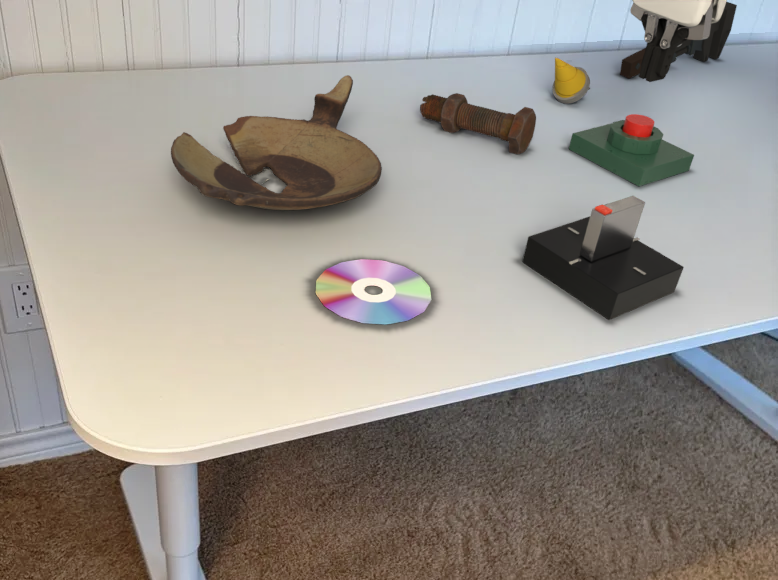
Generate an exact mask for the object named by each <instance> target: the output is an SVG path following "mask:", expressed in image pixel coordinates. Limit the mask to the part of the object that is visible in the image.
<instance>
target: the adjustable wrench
mask: <svg viewBox="0 0 778 580" xmlns="http://www.w3.org/2000/svg"><path fill="white" fill-rule="evenodd" d="M737 8H738V5H737V4H735V3H733V2H730V1H726V4H725V7H724V10H723V13H722V16H721V18H720V19H719V21H718V22H715V23H711V28H710V35H709V37H708V38H707V39H703V40H687V41H685V42H683V43H682V45H681V46H678V47H676V49H675V52H674V56H673V59H672V62H671V64H673V63H675V62H676V61H677V59H678V57H680V56H682V55H686V56H689V57H692V58H693V59H696V60H698V61H700V62H703V63H706V62H707V61H709V58H711V59H714V60H719V58H720V56H721V54H722V52H723V49H724V48H725V45H726V43H727V41H728V39H729V36H730V34H731V32H732V28H733V24H734V20H735V15H736V12H737ZM645 49H646V47H644V48H642V49H640V50H638V51H636V52H634V53H632V54H630V55H628V56H626V57H624V58H623V59H621V65H620V71H619V75H620V76H621V77H624V78H626V79H628V80H631V79H632V78H634V77H636V76H639V73H640V70H641V63H642V60H643V56H644V53H645Z"/></svg>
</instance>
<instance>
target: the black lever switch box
mask: <svg viewBox="0 0 778 580" xmlns="http://www.w3.org/2000/svg"><path fill="white" fill-rule="evenodd" d="M590 216H591V215H589V216H587V217H583V218H580V219H578V220H575V221H572V222H568V223H565V224H562V225H559V226H555V227H553V228H550V229H547V230H544V231H541V232H539V233H535V234H533V235H529V236H528V237H527V241H526V245H525V248H524V254H523V258H522V263H523V264H525V265H526V266H528V267H529V268H531V269H532V270H534V271H535V272H537V273H538V274H540V275H541V276H542V277H544V278H546V279H547V280H549V281H550V282H551V283H553V284H554V285H556V286H558V287H559V288H560V289H562V290H563V291H565V292H566V293H568V294H570V295H571V296H573V297H574V298H576V300H578V301H580V302H581V303H583V304H584V305H586V306H588V307H589V308H590V309H592V310H593V311H594V312H596V313H598V314H599V315H601V316H602V317H604V318H605V319H607V320H608V321H610V320H613V319H615V318H618V317H620V316H622V315H625V314H627V313H629V312H631V311H634V310H636V309H638V308H641V307H643V306H645V305H648V304H650V303H652V302H654V301H657V300H659V299H661V298H664V297H666V296H669V295H671V294H674V293H675V291H676V289H677V286H678V283H679V281H680V278H681V277H682V273H683V271H684V268H685V267H684V266H683V265H682V264H680V263H678V262H676V261H674V260H673V259H671V258H669V257H667V256H666V255H664V254H663V253H661V252H659V251H657V250H656V249H653V247H650V246H649V245H648V244H645V243H643V242H642V241H640V240H641V238H639V237H638V236H636V237H634V239H633V242H632V245H631V247H630V248H627V249H625V250H622V251H619V252H616V253H614V254H611V255H608V256H606V257H603V258H600V259H598V260H595V261H592V262H591V261H589V260H587V259H586V258H584V257H583V256H581V255H580V251H581V247H582V244H583V240H584V237H585V233H586V230H587V226H588V223H589V219H590Z"/></svg>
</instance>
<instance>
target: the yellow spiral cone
mask: <svg viewBox="0 0 778 580" xmlns="http://www.w3.org/2000/svg"><path fill="white" fill-rule="evenodd" d="M590 85H591V79H590V75H589V74H588V72H587V71H586V69H584V68H583V67H580V66H573V65H572V64H570V63H568V62H566V61H564V60H563V59H560V58H558V57H554V81H553V84H552V89H551V91H552V94H553V96H554V98H555V99H556V100H557V101H558V102H559V103H561V104H564V105H565V104H566V105H568V104H573V103H577V102H578V101H580V100H581V99H582V98H583V97H585V95H586V94H587V93H588V91H590V90H591V87H590Z"/></svg>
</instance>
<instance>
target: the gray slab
mask: <svg viewBox="0 0 778 580" xmlns="http://www.w3.org/2000/svg"><path fill="white" fill-rule="evenodd" d="M645 205H646V201H644V200H642V199H640V198H639V197H636V196H635V195H630V196H628V197H624V198H622V199H621V198H620V199H619V200H616V201H613V202H609V203H606V204H599V205H596V206H595V207H594V208H592V209H591V211H590V212H591V213H590V215H589V216H590V219H589V223H588V226H587V230H586V233H585V237H584V240H583V244H582V247H581V251H580V255H581V256H583V257H584V258H586V259H587V260H589V261H591V262H592V261H595V260H598V259H600V258H603V257H606V256H608V255H611V254H614V253H616V252H619V251H622V250H625V249H627V248H630V247H631V245H632V242H633V239H634V238H635V235H636V233H637V229H638V227H639V223H640V221H641V218H642V214H643V211H644V208H645Z"/></svg>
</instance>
